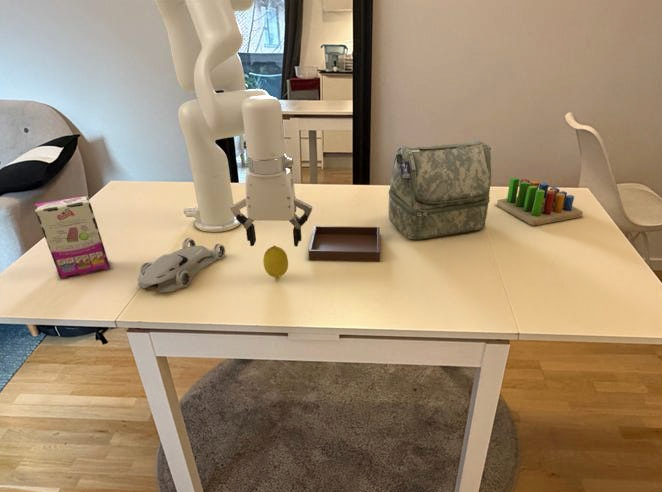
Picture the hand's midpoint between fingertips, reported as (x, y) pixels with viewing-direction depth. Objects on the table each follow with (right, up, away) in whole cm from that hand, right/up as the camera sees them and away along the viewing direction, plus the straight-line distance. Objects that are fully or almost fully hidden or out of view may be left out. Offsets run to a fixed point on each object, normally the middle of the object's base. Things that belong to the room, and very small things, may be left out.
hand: (274, 243), depth 120 cm
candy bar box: (-46, -5, +9) cm, 47 cm away
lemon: (0, -7, +6) cm, 9 cm away
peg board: (+71, +18, +39) cm, 83 cm away
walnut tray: (+15, +3, +19) cm, 24 cm away
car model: (-23, -5, +8) cm, 25 cm away
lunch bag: (+40, +11, +30) cm, 51 cm away
